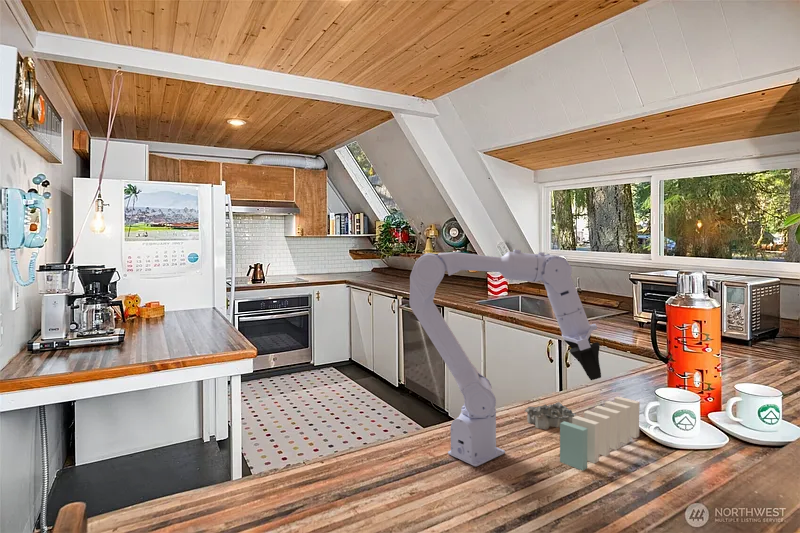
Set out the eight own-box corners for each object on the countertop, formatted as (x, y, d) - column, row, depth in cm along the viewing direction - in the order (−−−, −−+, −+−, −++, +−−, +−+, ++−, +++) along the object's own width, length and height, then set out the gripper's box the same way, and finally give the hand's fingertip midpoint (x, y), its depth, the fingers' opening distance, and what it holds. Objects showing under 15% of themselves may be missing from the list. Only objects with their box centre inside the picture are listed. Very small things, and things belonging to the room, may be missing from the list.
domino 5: (626, 444, 106) (626, 408, 106) (604, 437, 110) (604, 402, 109) (629, 442, 107) (630, 406, 107) (607, 435, 111) (608, 400, 110)
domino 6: (635, 438, 109) (636, 403, 108) (613, 431, 113) (614, 397, 112) (639, 436, 110) (639, 401, 109) (617, 429, 114) (617, 396, 113)
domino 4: (616, 450, 103) (616, 413, 103) (594, 442, 107) (594, 407, 106) (620, 448, 104) (620, 411, 104) (597, 440, 108) (598, 405, 108)
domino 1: (582, 470, 95) (583, 430, 94) (559, 461, 98) (560, 423, 98) (587, 468, 96) (587, 428, 95) (564, 459, 99) (564, 421, 99)
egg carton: (539, 431, 114) (539, 414, 114) (522, 420, 121) (522, 404, 121) (578, 426, 117) (578, 409, 117) (560, 415, 124) (560, 399, 124)
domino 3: (605, 456, 100) (606, 418, 100) (583, 448, 104) (583, 412, 104) (609, 454, 101) (610, 416, 101) (587, 446, 105) (587, 410, 105)
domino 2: (594, 463, 97) (595, 424, 97) (571, 455, 101) (572, 417, 101) (598, 461, 98) (599, 422, 98) (576, 452, 102) (576, 415, 102)
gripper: (595, 311, 91) (620, 378, 92) (582, 298, 105) (604, 355, 106) (558, 323, 93) (583, 389, 93) (550, 308, 107) (572, 365, 108)
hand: (592, 372), depth 100 cm, fingers open, 7 cm apart
